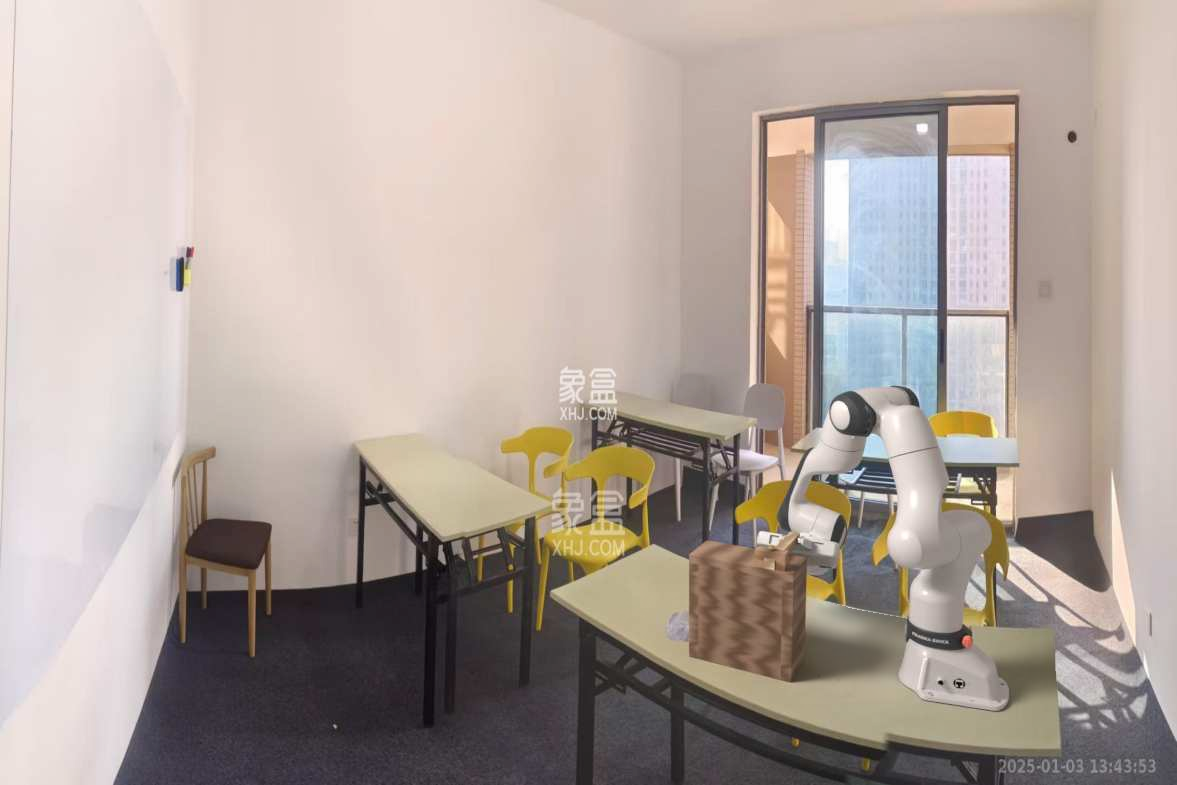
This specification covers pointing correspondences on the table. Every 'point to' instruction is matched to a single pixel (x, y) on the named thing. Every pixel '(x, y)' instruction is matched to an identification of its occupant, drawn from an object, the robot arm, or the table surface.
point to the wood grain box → (746, 611)
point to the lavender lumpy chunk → (678, 626)
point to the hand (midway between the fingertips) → (791, 539)
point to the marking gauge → (776, 553)
